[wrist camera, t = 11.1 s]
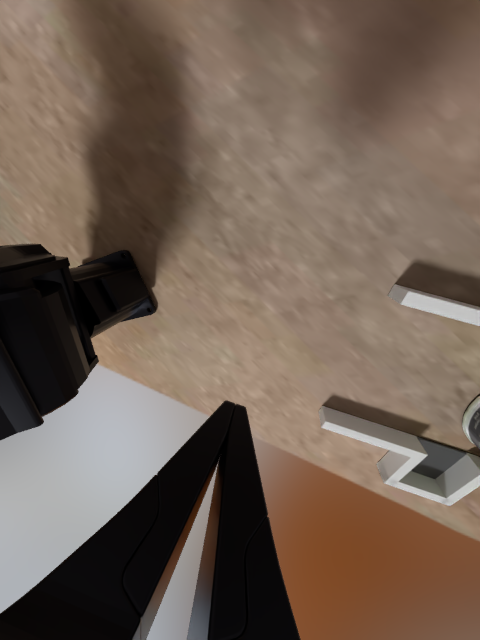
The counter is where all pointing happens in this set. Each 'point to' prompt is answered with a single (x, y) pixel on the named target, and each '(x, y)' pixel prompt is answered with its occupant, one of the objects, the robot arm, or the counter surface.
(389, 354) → the counter surface
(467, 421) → the coffee can
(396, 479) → the trap channel
